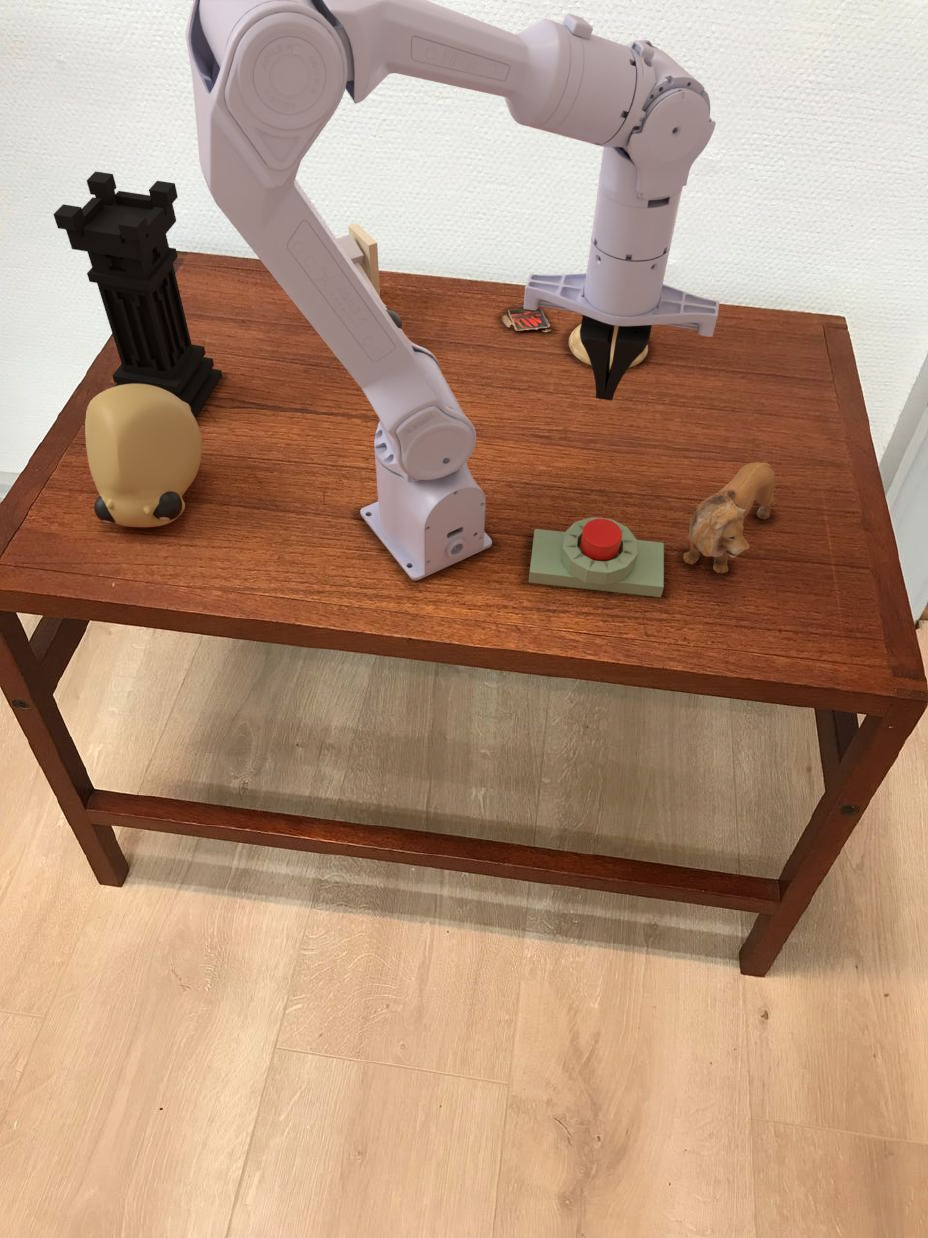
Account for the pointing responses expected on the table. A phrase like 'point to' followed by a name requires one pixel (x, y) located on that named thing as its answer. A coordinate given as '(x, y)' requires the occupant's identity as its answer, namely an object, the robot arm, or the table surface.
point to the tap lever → (357, 259)
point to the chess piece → (140, 286)
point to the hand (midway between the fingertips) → (605, 392)
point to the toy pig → (141, 454)
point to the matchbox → (526, 319)
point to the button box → (597, 563)
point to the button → (601, 539)
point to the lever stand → (367, 254)
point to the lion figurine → (729, 515)
